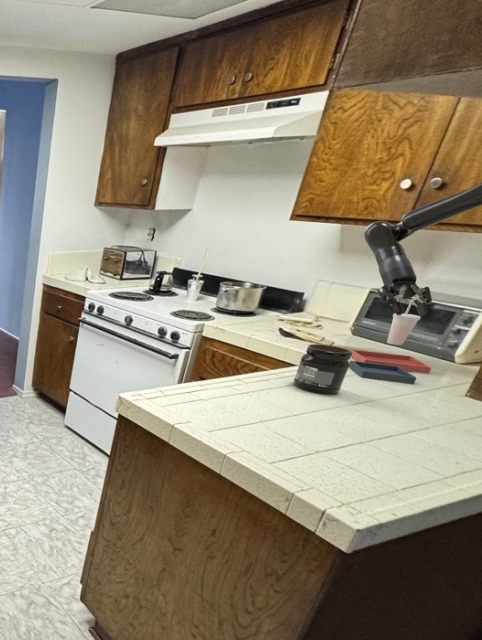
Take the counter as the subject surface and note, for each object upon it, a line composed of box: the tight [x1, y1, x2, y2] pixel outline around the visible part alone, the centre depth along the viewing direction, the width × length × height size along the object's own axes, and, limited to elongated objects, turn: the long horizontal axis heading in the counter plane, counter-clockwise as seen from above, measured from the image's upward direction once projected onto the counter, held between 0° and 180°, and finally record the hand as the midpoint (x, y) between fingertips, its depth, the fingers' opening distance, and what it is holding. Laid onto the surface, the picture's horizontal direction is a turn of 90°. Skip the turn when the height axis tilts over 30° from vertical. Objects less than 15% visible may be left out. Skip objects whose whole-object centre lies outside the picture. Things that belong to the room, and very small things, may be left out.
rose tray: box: [350, 349, 432, 375], centre depth 159 cm, size 16×14×2 cm
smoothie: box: [386, 302, 422, 346], centre depth 154 cm, size 6×6×14 cm
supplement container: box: [293, 343, 352, 395], centre depth 134 cm, size 10×10×12 cm
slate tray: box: [349, 360, 417, 385], centre depth 148 cm, size 12×12×2 cm
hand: (412, 314), depth 151 cm, fingers closed on smoothie, 6 cm apart
